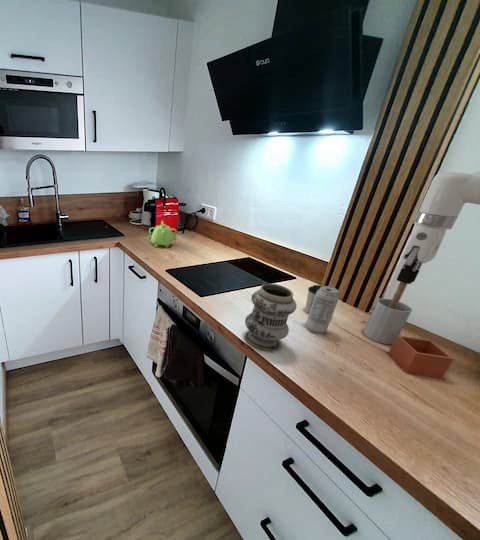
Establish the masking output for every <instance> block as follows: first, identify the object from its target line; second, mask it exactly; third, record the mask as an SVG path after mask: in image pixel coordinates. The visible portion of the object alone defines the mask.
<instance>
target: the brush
mask: <svg viewBox="0 0 480 540" xmlns="http://www.w3.org/2000/svg"><path fill="white" fill-rule="evenodd" d="M407 285H408V284H407V283H404V282H400V281H399V283H398V286H397V288H396V289H395V293H394V294H393V296H392V298H391V303H390V305H389V308H392V309H395V308H396V306H397V304H398V302H400V300H401V299H402V296H403V294H404V292H405V290H406V288H407Z"/></svg>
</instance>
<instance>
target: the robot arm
mask: <svg viewBox="0 0 480 540" xmlns="http://www.w3.org/2000/svg"><path fill="white" fill-rule="evenodd" d="M465 204H474V205H479V206H480V170H479V171H476V172H473V173H465V172H452V171H447V172H446V171H445V172H444V171H443V172H439V173H437V174H436V175H435V176H434V177H433V178H432V180H431V182H430V185H429V188H428V189H427V192H426V194H425V196H424V199H423V201H422V202H421V204H420V207H419V209H418V211H417V213H416V215H415V217H414V219H413V222H412V224H414V225H416V227H415V228H414V230H413V232H412V234H411V236H410V238H409V240H408V242H407V245H406V246H405V248H404V251H403V253H402V255H401V256H402V258H403V259H404V260H405V261H404V263H403V265H402V267H401V269H400V271H399V273H398V276H397V277H396V281H397V282H399V283H400V282H404V283H407V285H411V284H412V283H415V281H416V279H417V277H418V275H419V273H420V270H421V268H422V266H423V264H427V263H428V262H430V261H433V260H434V259H435V257H436V256H437V253H438V251H439V249H440V247H441V245H442V242H443V240H444V238H445V236H446V233H447V230H452V229H453V227H454V225H455V223H456V221H457V219H458V218H459V215H460V213H461V212H462V210H463V207H464V206H465Z"/></svg>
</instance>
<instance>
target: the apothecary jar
mask: <svg viewBox="0 0 480 540" xmlns="http://www.w3.org/2000/svg"><path fill="white" fill-rule="evenodd" d="M251 303H252V304H253V308H252V310H251V312H250V313H248V314H247V316H246V317H245V320H244V324H245V327H246V328H247V330H248V331H247V332H246V333H245V334H244V335H245V336H244V337H245V340H246V341H247V342H248V343H249V344H250V345H251V346H253V347H255V348H256V349H260V350H263V351H268V352H269V351H270V352H271V351H273V350H278V349H279V348H280V346H281V343H280V340H282V339H285V338H286V337H288V334H289V333H290V329H289V325H288V324H287V323H288V318H289V316H290V315H292V314H293V313H295V311H296V310H297V303H296V300H295V299H294V292H293V291H292V290H291V289H289V288H288V287H286V286H284V285H282V284H281V285H280V284H278V283H263V284H261V286H260V288H259V289H258V290H256V291H254V292H253V293H252V295H251Z"/></svg>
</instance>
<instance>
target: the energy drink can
mask: <svg viewBox="0 0 480 540" xmlns="http://www.w3.org/2000/svg"><path fill="white" fill-rule="evenodd" d="M339 292H340V291H339V289H337V288H335V287H333V286H329V285H321V287H320V289H319V290H317V292H316V295H315V298H314V301H313V304H312V307H311V310H310V313H308V316H307V318H306V322H305V326H306V328H307V329H308V330H309V331H311V332H313V333H317V334H324V333H325V332H327V331H328V328H329V325H330V324H331V320H332V317H333V315H334V313H335V310H336V307H337V306H338V305H337V304H338V303H339V300H340V293H339Z"/></svg>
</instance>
